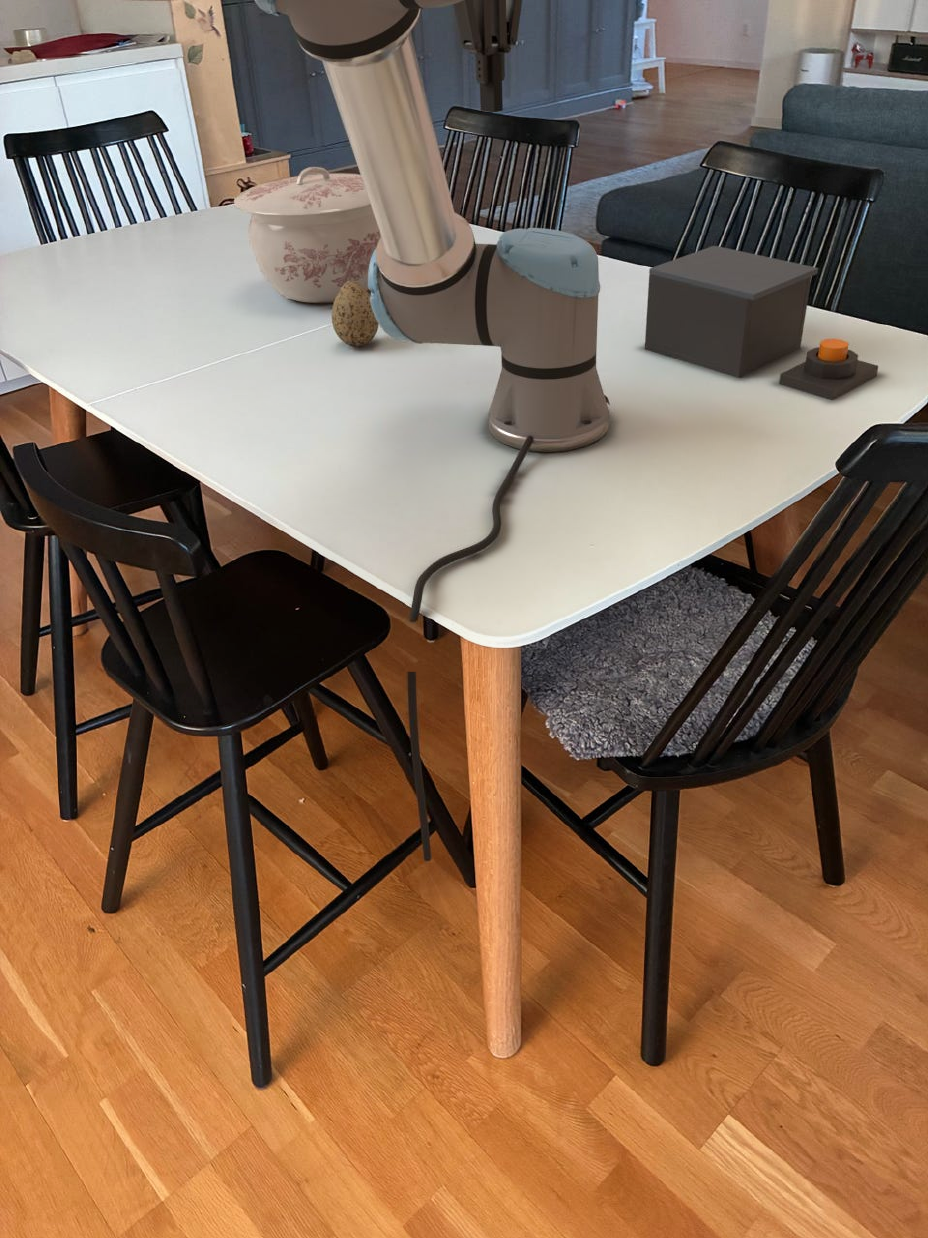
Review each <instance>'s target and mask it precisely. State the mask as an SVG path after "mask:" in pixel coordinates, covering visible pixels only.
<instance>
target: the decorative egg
mask: <svg viewBox="0 0 928 1238" xmlns="http://www.w3.org/2000/svg"><path fill="white" fill-rule="evenodd" d="M370 297H371V293H369V291H367V290H366V289H365V288H364V287H362V286H361V285H360V284H359V283H358V282H356V281H348V282H346V283H345V284H344V285H343V286H342V288H341V289H340V290H339V292H338V294H337V296H336V298H335V300H334V302H332V303H333V304H332V307H331V322H332V323H331V324H332V327H333V330H334V331H335V334H336V335H337V337H338V339H340V340H341V341H342V342H343V343H344V344H346V345H348V346H350V347H356V348H357V347H364V346H366V345H368V344H369V343H370V342H371V341H372V340H373V339H374V338H375V337H376V335H377V332H378V329H379V326H380V325H379V324H378V322H377V320H376V318H375V315H374V313H373V310H372V306H371V302H370Z"/></svg>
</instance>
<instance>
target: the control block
mask: <svg viewBox="0 0 928 1238" xmlns="http://www.w3.org/2000/svg"><path fill="white" fill-rule="evenodd" d="M818 352H819V347H817V346H816V347H814V348H811V349H810V350H807V351H806V357H805V361H804V362H802V363H800V364H798V365H795V366H794V367H792V368H789V369H788V370H787V369H786V370H785V371H783V372H781V373H780V375H779V382H778V384H779V385H781V386H783V387H787V388H791V389H793V390H797V391H800V392H804V393H807V394H810V395H814V396H816V397H820V398H823V399H826V400H830V401H833V400H835V399H837V398H838V397H840V396H842V395H844V394H845V393H847V392H849V391H851V390H853V389H856V388H857V387H858V386H861V385H863V384H865V383H866V382H868V381H870V380H871V379H873V378H875V377H877V375H878V371H879V365H877V364H874V363H870V362H867V361H862V360H859V355H858V354H857V353H856V352H855V351H853V350H851V349H848V351H847V356H846V360H844V361H826V360H822V359H819V358H818Z"/></svg>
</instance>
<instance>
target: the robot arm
mask: <svg viewBox="0 0 928 1238" xmlns="http://www.w3.org/2000/svg"><path fill="white" fill-rule="evenodd" d="M254 2H255V4H256V5H257V6H258V8H260V10H262V11H264V12H265V13H267V14H270V15H271V14H272V15H273V16H276V17H281V16H283V15H287V16H288V18H289V20H290V24H291V26H292V28H293V31H294V34H295V37H296V40H297V43H298V44H299V46H300V48H301V49H302V50H303V51H304V52H305V53H306V54H307V55H309V56H311V57H312V58H314V59H315V60H319V61H321V62H322V64H323V68H324V70H325V74H326V76H327V79H328V82H329V85H330V88H331V91H332V94H333V97H334V101H335V103H336V106H337V110H338V112H339V114H340V118H341V120H342V124H343V127H344V130H345V133H346V136H347V138H348V142H349V144H350V147H351V150H352V153H353V156H354V159H355V162H356V165H357V168H358V171H359V174H361V177H362V180H363V183H364V186H365V189H366V192H367V195H368V198H369V201H370V204H371V207H372V210H373V213H374V215H375V218H376V221H377V224H378V227H379V230H380V233H381V238H380V239H379V242H378V244H377V247H376V249H375V251H374V252H373V255H372V257H371V261H370V265H369V271H368V288H369V290H368V291H370V296H371V297H370V302H371V306H372V310H373V313H374V315H375V318H376V320H377V322H378V324H379V325H378V326H379V327H380V328H381V330H382V331H383V332H384V333H385V334H386V335H387V336H389V337H391V338H393V339H395V340H398V341H406V342H411V343H414V344H421V345H422V344H441V345H442V344H443V345H459V346H460V345H463V346H483V347H484V346H485V347H499V348H500V353H501V370H500V373H499V376H498V381H497V384H496V387H495V390H494V394H493V397H492V401H491V404H490V407H489V411H488V430H489V432H490V434H491V435H492V437H493V438H495V439H496V440H497V441H499V442H500V443H502V444H505V445H506V446H509V447H512V448H514V449H518V450H519V452H518V454H517V455H516V458H515V459H514V462H513V463H512V465H511V467H510V469H509V471H508V473H507V474H506V476H505V478H504V479H503V481H502V483H501V484H500V486H499V488H498V490H497V492H496V494H495V496H494V499H493V502H492V507H491V508H492V509H491V512H492V513H491V514H492V521H493V526H492V529H491V531H490V532H489V534H488V535H487V536H486V537H485V538H484V539H482V540H481V541H479V542H477V543H474V544H472V545H470V546H467V547H465V548H462V549H459V550H457V551H454V552H450V553H448V554H447V555H444V556H442V557H440V558H438V559H437V560H436V561H434V562H432V564H430V565H429V566H428V567H427V568H426V569H425V570H424V571H423V572H421V574H420V575H419V577H418V578H417V580H416V583H415V587H414V590H413V596H412V602H411V607H410V612H409V618H408V620H409V622H411V623H416V622H417V621H419V615H420V610H421V606H422V600H423V594H424V589H425V587H426V584H427V582H428V581H429V579H431V577H433V575H434V574H435V573H437V571H438V570H440V569H442V568H443V567H445V566H447V565H450V564H451V563H454V562H456V561H459V560H461V559H464V558H466V557H470V556H472V555H475V554H477V553H479V552H481V551H483V550H485V549H486V548H488V547H489V546H490V545H492V544H493V543H494V542H495V541H496V539H497V538H498V537H499V536H500V533H501V530H502V517H501V505H502V502H503V500H504V497H505V495H506V493H507V491H508V489H509V487H510V486H511V484H512V483H513V481H514V479H515V477H516V475H517V473H518V472H519V469H520V468H521V466H522V464H523V461H524V459H525V458H526V455H527V454H528V452H529V451H531V452H547V453H549V452H563V451H569V450H574V449H575V450H576V449H580V448H582V447H586V446H589V445H590V444H593V443H595V442H598V440H600V439H601V438H603V437H604V436H605V435H606V433H607V432H608V430H609V426H610V425H609V424H610V409H609V406H610V405H611V404H610V400H609V397H608V396H607V395H606V394H605V393H604V389H603V386H602V383H601V379H600V375H599V373H598V369H597V351H598V349H597V345H598V321H599V319H598V318H599V317H598V315H599V295H600V292H601V283H600V274H599V273H600V271H599V270H600V269H599V256H598V253H597V251H596V249H595V248H594V246H592V245H591V244H590V243H589V242H588V241H587V240H585V239H583V238H582V237H580V236H577V235H575V234H572V233H570V232H565V231H562V230H557V229H551V228H544V227H543V228H542V227H528V228H513V229H510V230H507V231H504V232H502V233H501V235H500V236H499V237H498V240H497V242H496V244H493V243H476V239H475V235H474V232H473V229H472V226H471V225H470V223H469V222H468V221H467V220H466V219H465V218H464V217H463V216H461V215H460V214H458V213H457V212H455V209H454V206H453V200H452V196H451V192H450V188H449V184H448V180H447V175H446V172H445V167H444V163H443V159H442V155H441V151H440V147H439V144H438V143H439V142H438V138H437V135H436V130H435V127H434V122H433V118H432V114H431V111H430V106H429V102H428V97H427V94H426V90H425V85H424V82H423V76H422V73H421V68H420V65H419V60H418V56H417V53H416V49H415V45H414V41H413V36H412V33H411V31H412V29H413V28H414V27H415V26H416V24H417V22H418V19H419V17H420V13H421V10H422V9H432V8H435V9H436V8H443V7H448V6H451V5H452V6H453V9H454V14H455V19H456V24H457V29H458V33H459V38H460V43H461V47H462V50H463V51H468V52H469V54H471V55H474V57H475V79H476V82H477V83H476V84H479V97H480V98H479V100H480V101H479V102H480V111H482V112H488V113H498V112H503V111H504V110H503V109H504V108H503V107H504V106H503V105H504V104H503V102H504V101H503V81H505V78H506V71H505V70H506V68H505V67H506V64H505V63H506V61H505V60H506V59H505V58H506V57H505V54H509V53H510V52H511V51H512V47H511V46H515V45H516V44H517V41H518V35H519V30H520V29H519V28H520V19H521V13H522V5H523V0H254ZM608 405H609V406H608ZM407 709H408V727H409V741H410V750H411V761H412V770H413V778H414V786H415V787H414V788H415V793H416V801H417V810H418V817H419V825H420V826H419V827H420V833H421V844H422V853H423V861H424V862H430V861H431V860H432V850H431V839H430V837H431V836H430V828H429V819H428V810H427V803H426V794H425V787H424V778H423V777H424V776H423V770H422V760H421V752H420V751H421V750H420V737H419V722H418V721H419V720H418V699H417V671H407Z"/></svg>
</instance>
